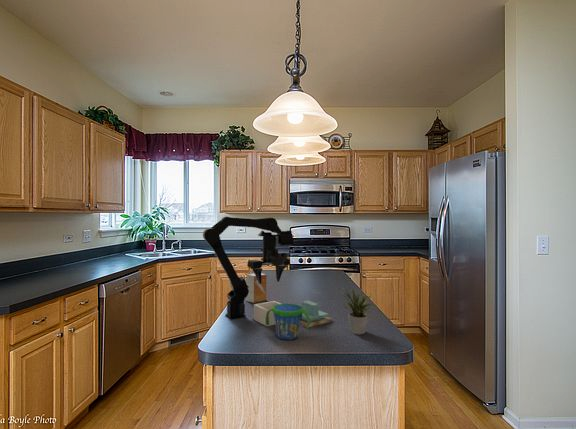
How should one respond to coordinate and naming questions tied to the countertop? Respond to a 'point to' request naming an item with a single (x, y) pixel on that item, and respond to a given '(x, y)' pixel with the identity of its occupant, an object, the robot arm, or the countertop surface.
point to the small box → (256, 288)
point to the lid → (312, 311)
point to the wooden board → (315, 322)
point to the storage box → (264, 312)
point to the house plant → (357, 313)
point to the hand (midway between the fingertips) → (269, 282)
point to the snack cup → (287, 320)
